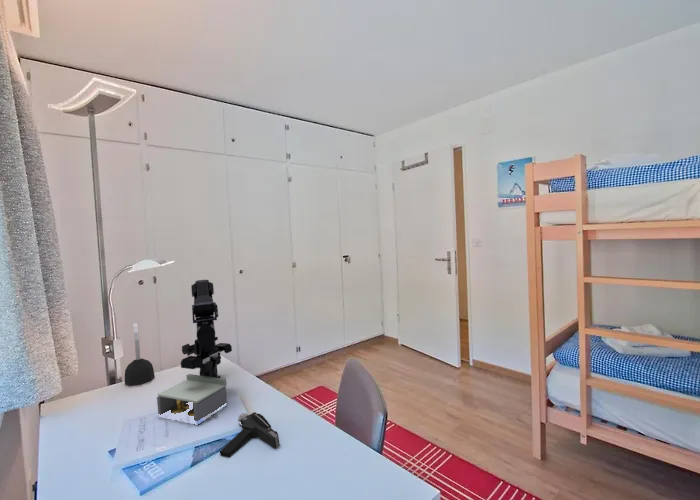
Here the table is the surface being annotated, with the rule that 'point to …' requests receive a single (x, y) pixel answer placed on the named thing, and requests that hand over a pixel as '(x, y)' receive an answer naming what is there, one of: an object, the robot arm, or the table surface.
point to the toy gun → (251, 433)
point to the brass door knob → (179, 407)
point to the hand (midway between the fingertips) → (209, 378)
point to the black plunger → (138, 367)
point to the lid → (194, 388)
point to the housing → (196, 404)
